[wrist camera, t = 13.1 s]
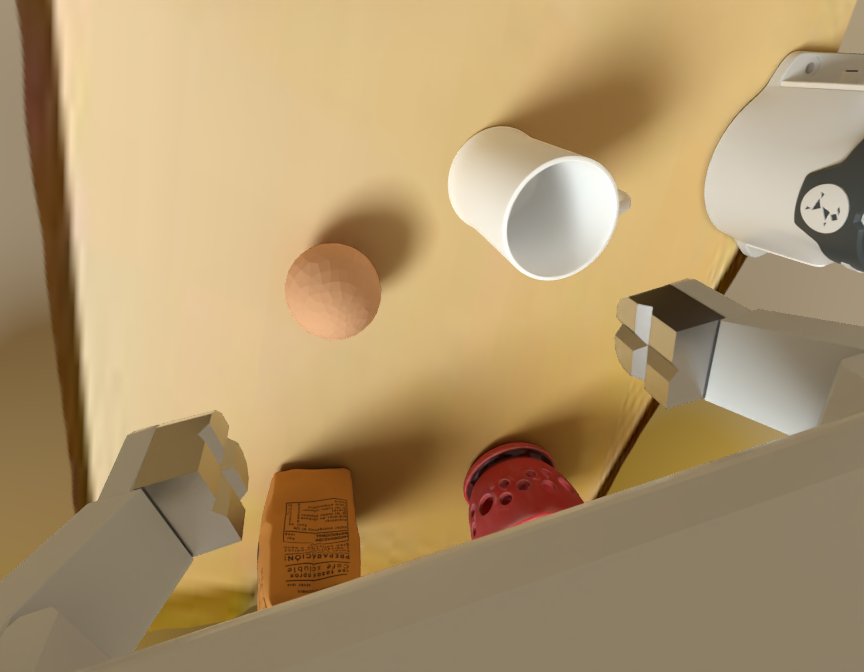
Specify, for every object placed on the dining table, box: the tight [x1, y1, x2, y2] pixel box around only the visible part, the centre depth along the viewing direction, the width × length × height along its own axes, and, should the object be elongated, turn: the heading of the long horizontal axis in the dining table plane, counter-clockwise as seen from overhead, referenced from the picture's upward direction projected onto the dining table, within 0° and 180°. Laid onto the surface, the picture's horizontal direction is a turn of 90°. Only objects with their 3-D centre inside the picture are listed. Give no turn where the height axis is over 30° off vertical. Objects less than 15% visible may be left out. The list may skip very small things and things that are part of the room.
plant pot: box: [464, 442, 584, 540], centre depth 54 cm, size 13×13×12 cm
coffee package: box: [257, 468, 361, 611], centre depth 44 cm, size 10×12×22 cm
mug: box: [448, 126, 631, 280], centre depth 35 cm, size 12×8×12 cm
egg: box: [285, 243, 381, 340], centre depth 37 cm, size 7×7×8 cm
